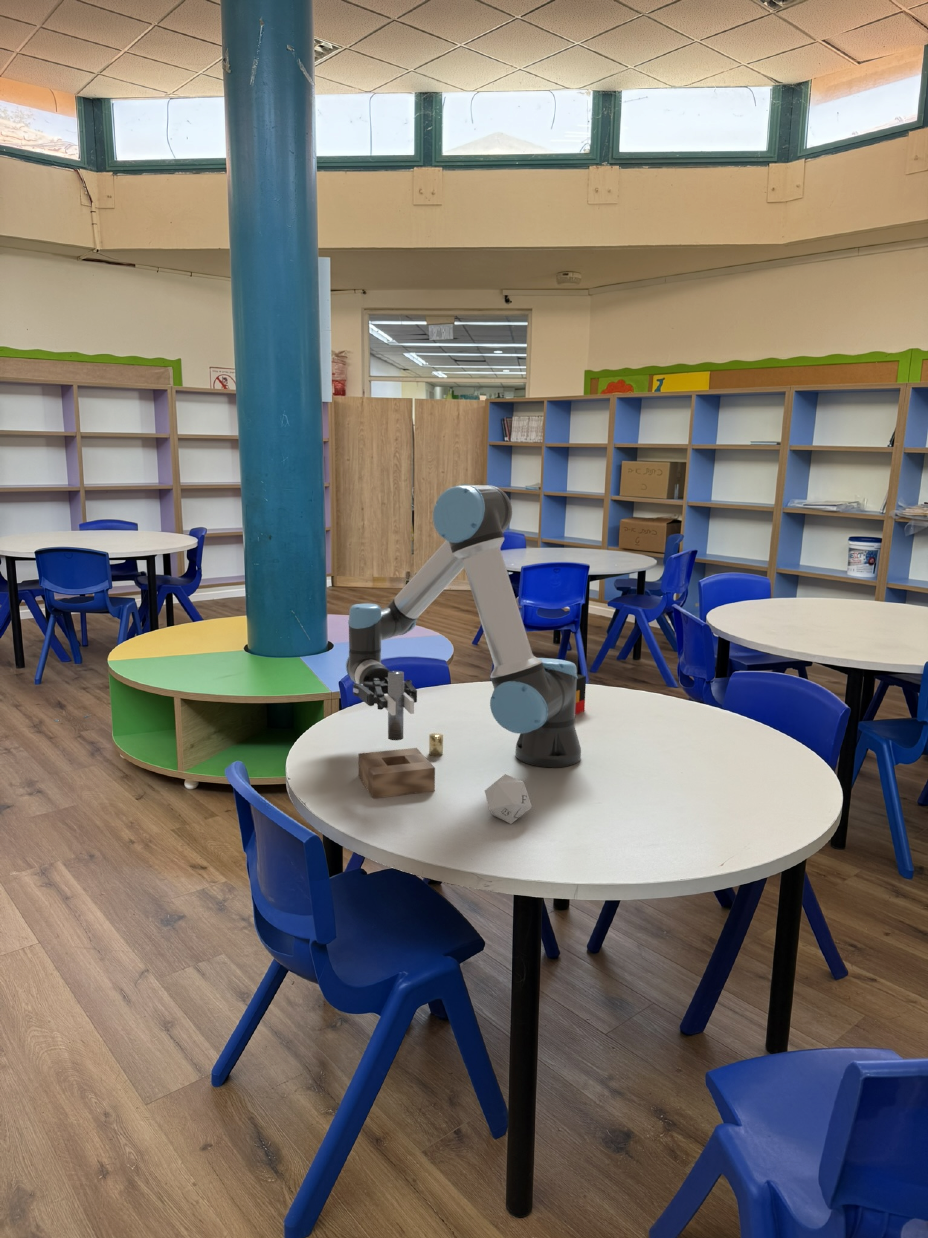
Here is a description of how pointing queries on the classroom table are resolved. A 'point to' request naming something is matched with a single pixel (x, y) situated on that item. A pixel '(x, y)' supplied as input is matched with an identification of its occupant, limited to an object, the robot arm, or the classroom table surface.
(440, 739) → the short brass pin
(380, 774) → the hole block
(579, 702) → the puzzle toy
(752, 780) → the classroom table surface
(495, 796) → the die
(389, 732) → the long metal pin
